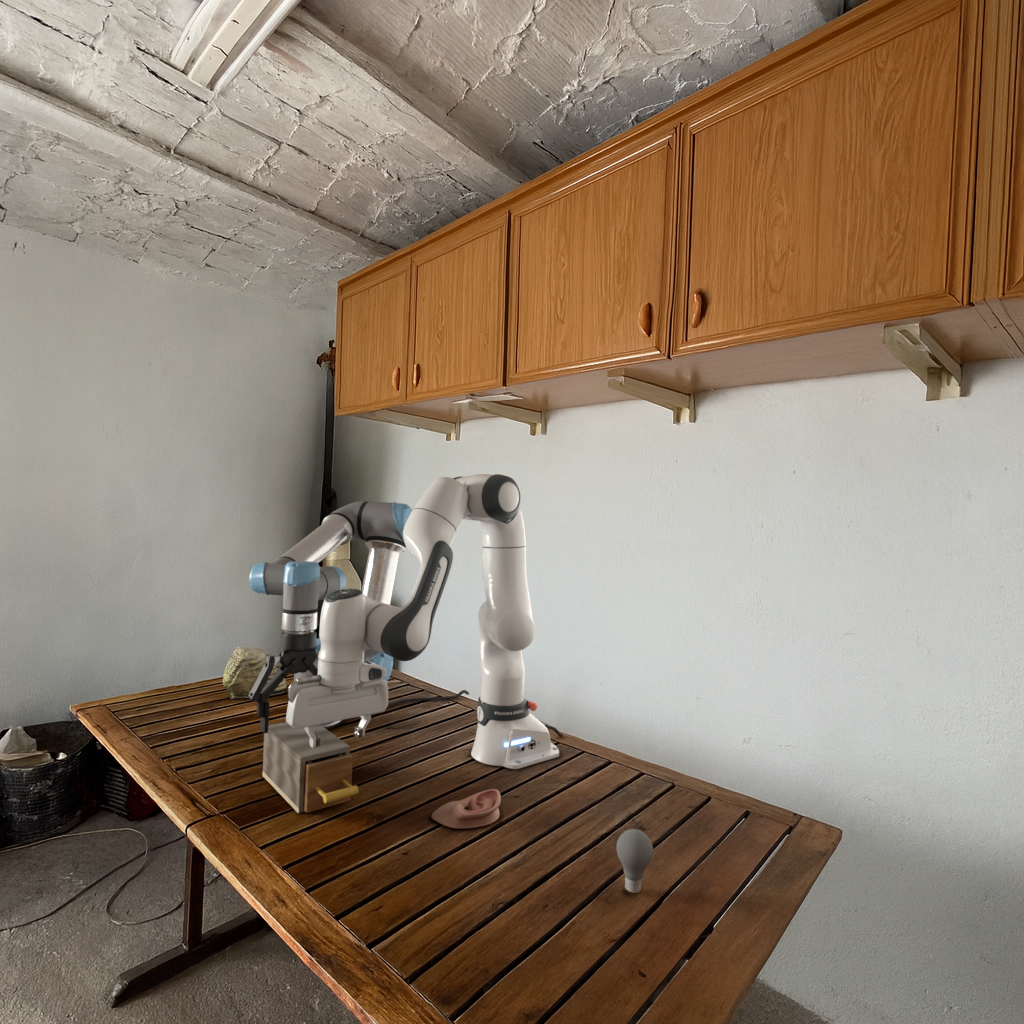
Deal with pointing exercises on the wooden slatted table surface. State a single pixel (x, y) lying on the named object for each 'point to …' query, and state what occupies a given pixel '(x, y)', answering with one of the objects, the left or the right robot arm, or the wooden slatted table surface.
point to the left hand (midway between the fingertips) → (294, 725)
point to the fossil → (247, 672)
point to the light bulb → (634, 857)
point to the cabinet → (295, 758)
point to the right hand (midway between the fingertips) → (337, 741)
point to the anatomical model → (470, 811)
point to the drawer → (328, 781)
